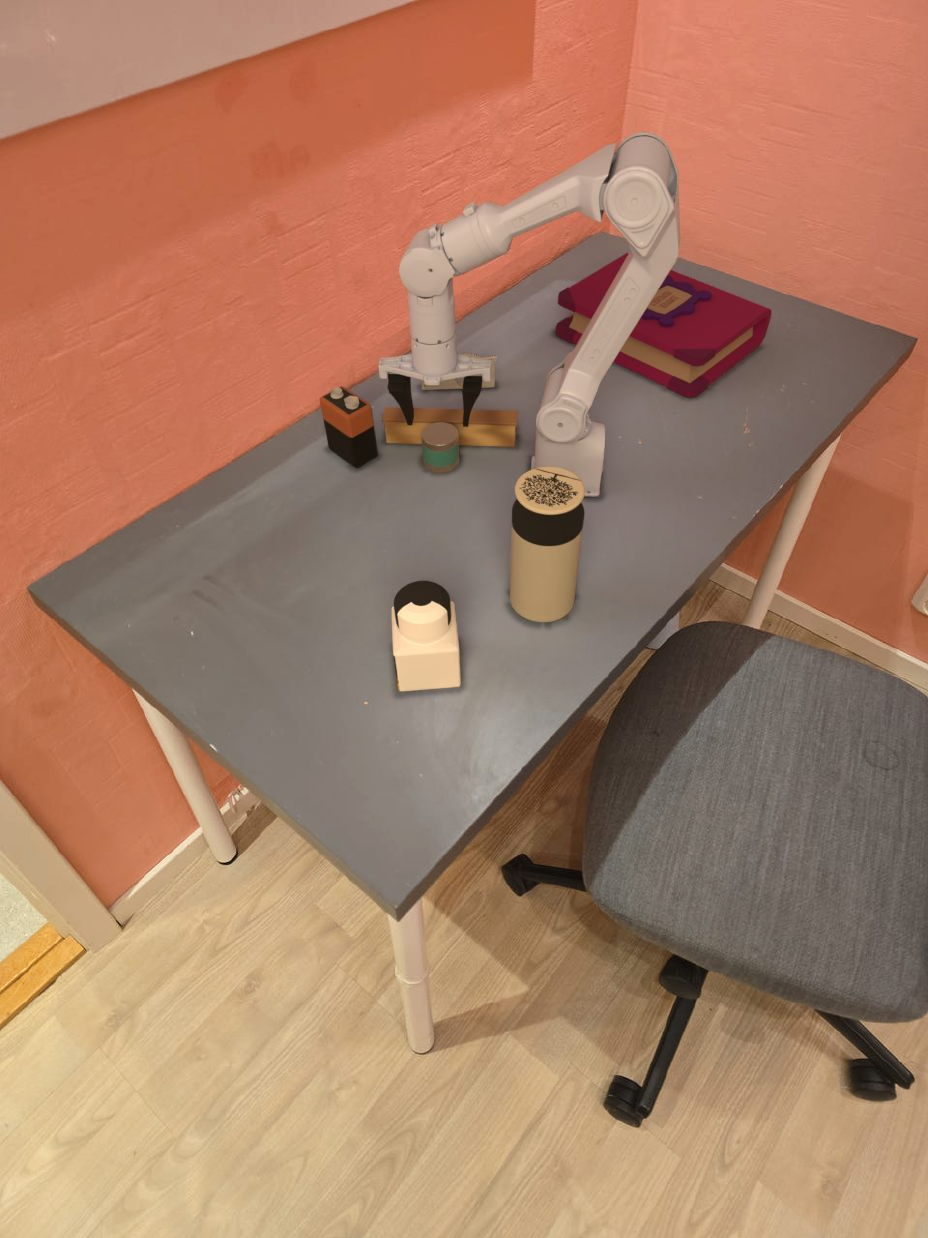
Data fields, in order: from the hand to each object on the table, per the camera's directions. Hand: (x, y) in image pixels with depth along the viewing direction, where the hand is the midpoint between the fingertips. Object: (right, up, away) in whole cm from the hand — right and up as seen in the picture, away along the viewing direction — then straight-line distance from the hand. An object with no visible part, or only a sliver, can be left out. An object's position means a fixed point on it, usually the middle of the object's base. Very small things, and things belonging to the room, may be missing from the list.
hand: (438, 421), depth 115 cm
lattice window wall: (+3, +9, +18) cm, 20 cm away
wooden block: (+2, -1, +9) cm, 9 cm away
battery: (-13, -3, +8) cm, 15 cm away
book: (+36, +20, +25) cm, 48 cm away
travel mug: (+13, -25, -12) cm, 30 cm away
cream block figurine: (-1, -33, -18) cm, 37 cm away
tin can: (0, -4, +6) cm, 7 cm away
